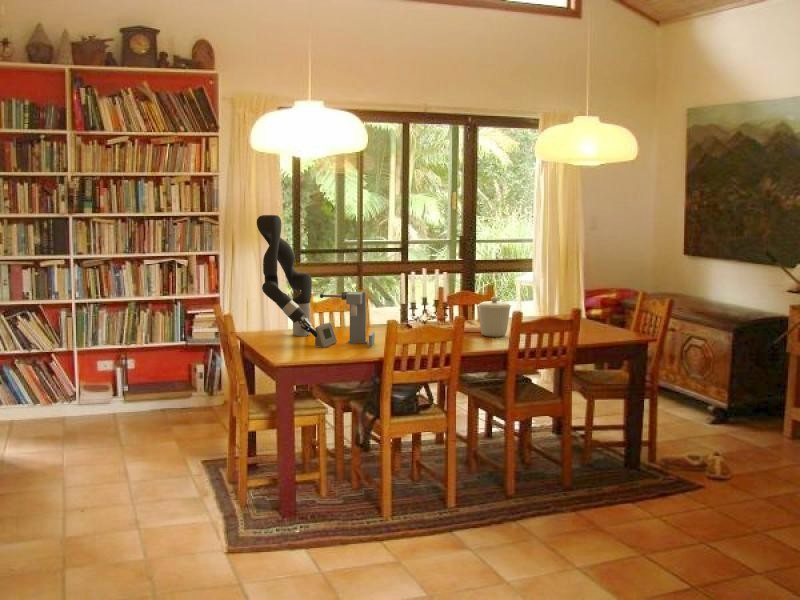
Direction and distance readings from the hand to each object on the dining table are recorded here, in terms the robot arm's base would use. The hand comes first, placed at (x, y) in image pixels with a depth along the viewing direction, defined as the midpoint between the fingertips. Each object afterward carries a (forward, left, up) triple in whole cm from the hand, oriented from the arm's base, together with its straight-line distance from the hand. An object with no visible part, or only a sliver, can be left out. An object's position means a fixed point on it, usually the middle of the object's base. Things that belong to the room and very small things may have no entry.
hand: (317, 336), depth 431 cm
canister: (-41, +88, -5) cm, 97 cm away
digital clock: (0, +4, -5) cm, 7 cm away
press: (-3, +19, -4) cm, 20 cm away
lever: (-6, +7, +18) cm, 21 cm away
